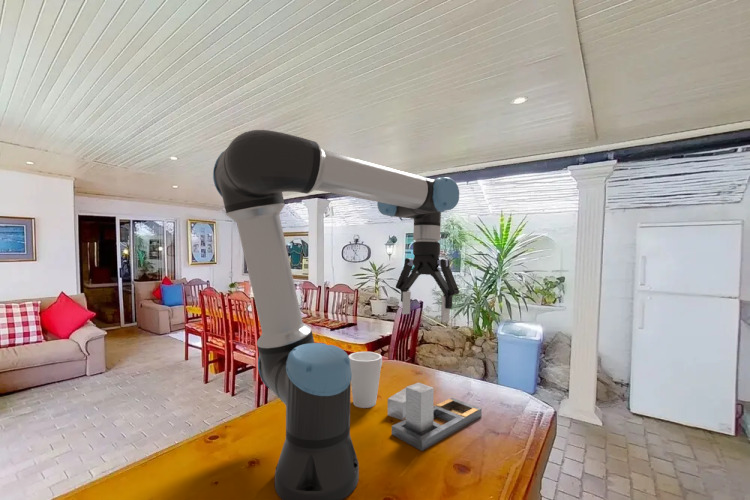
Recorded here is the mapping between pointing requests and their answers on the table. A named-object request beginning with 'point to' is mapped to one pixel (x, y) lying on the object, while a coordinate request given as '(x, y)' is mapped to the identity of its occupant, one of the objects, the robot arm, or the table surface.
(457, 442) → the table surface
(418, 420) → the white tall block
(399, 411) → the block
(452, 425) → the grey flat frame
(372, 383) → the foam cup
